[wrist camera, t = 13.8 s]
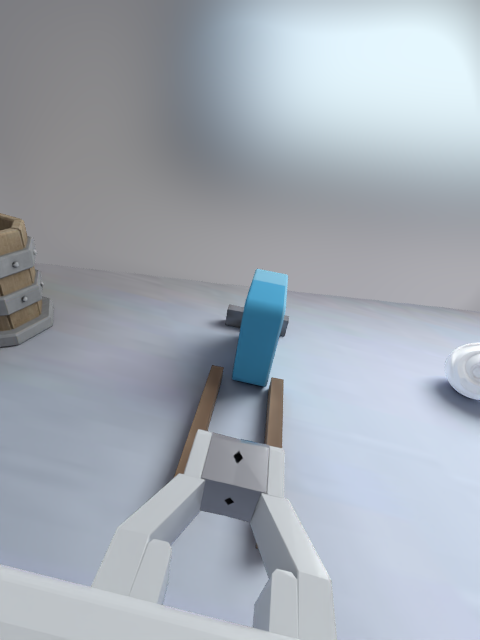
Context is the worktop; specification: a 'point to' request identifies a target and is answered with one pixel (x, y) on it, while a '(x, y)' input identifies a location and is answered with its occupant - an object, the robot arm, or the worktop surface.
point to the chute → (211, 391)
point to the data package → (260, 327)
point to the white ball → (465, 370)
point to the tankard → (20, 286)
